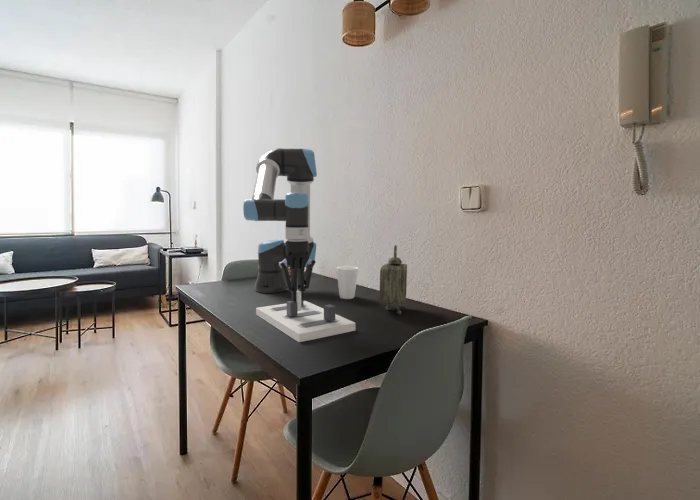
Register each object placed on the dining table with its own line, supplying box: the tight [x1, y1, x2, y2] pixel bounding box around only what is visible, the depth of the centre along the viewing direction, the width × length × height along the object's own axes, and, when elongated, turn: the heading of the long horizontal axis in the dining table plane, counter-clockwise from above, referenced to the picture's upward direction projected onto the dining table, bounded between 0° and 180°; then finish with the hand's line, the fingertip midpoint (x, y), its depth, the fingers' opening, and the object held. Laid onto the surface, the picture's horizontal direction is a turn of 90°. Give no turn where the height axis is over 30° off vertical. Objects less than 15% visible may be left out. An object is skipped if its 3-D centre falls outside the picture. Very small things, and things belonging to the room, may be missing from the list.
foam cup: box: [335, 265, 359, 300], centre depth 165 cm, size 10×9×13 cm
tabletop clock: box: [379, 244, 408, 315], centre depth 144 cm, size 14×9×25 cm, turn 168°
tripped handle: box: [286, 300, 297, 317], centre depth 127 cm, size 3×2×4 cm
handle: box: [323, 304, 336, 321], centre depth 122 cm, size 3×2×4 cm
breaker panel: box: [255, 300, 356, 343], centre depth 129 cm, size 34×20×3 cm, turn 34°
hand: (297, 310), depth 128 cm, fingers closed
